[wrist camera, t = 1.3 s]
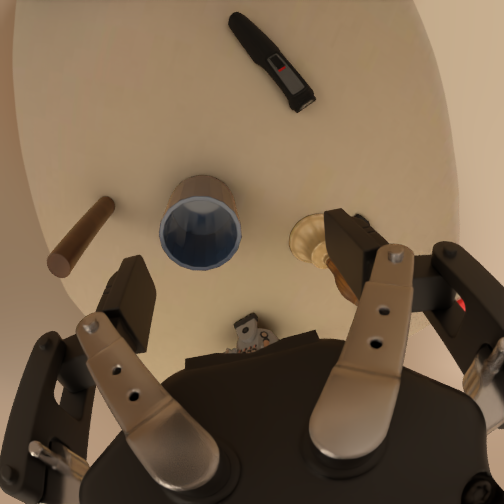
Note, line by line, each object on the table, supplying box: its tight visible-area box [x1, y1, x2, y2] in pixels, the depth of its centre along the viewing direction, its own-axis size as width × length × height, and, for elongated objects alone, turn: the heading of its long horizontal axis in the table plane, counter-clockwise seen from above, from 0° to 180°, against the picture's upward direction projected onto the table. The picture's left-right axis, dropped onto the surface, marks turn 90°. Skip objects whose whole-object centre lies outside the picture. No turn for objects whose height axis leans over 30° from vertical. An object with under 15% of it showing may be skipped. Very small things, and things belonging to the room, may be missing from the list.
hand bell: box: [289, 214, 359, 306], centre depth 37 cm, size 8×8×16 cm
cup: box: [159, 175, 242, 271], centre depth 35 cm, size 9×9×9 cm
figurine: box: [224, 313, 279, 353], centre depth 46 cm, size 9×12×15 cm
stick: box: [47, 197, 115, 278], centre depth 29 cm, size 3×3×16 cm
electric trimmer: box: [228, 12, 316, 113], centre depth 29 cm, size 4×16×3 cm, turn 37°
